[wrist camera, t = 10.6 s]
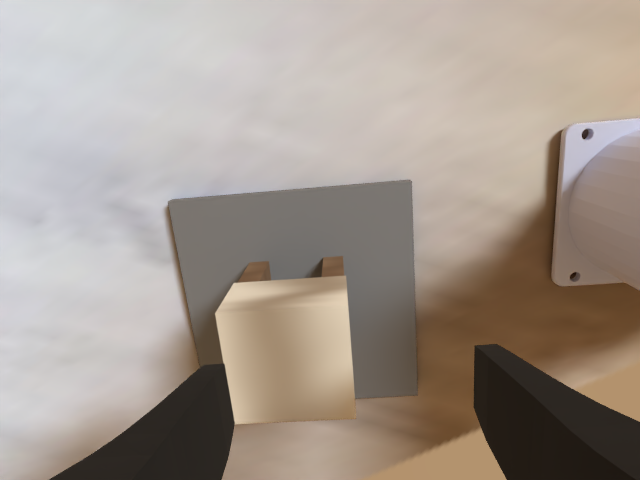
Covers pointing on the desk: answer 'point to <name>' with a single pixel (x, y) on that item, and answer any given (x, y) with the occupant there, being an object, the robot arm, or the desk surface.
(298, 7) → the desk surface
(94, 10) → the desk surface
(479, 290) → the desk surface
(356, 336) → the mat
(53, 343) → the desk surface
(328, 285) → the stool
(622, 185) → the robot arm
